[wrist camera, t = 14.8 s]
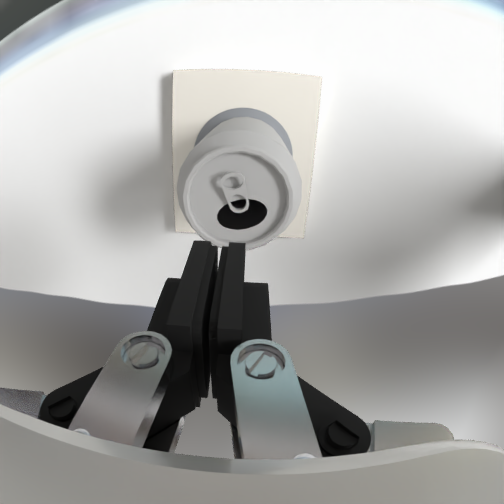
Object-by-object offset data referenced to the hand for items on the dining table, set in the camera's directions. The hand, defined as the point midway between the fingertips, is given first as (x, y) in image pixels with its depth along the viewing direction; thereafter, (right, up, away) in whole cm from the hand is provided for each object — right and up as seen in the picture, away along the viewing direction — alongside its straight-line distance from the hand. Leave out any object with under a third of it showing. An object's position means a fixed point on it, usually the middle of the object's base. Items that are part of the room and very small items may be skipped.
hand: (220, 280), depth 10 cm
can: (0, +10, +17) cm, 19 cm away
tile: (0, +10, +18) cm, 21 cm away
